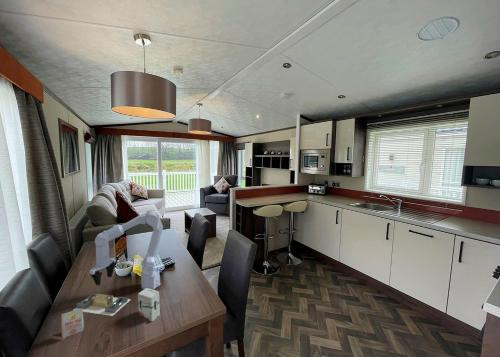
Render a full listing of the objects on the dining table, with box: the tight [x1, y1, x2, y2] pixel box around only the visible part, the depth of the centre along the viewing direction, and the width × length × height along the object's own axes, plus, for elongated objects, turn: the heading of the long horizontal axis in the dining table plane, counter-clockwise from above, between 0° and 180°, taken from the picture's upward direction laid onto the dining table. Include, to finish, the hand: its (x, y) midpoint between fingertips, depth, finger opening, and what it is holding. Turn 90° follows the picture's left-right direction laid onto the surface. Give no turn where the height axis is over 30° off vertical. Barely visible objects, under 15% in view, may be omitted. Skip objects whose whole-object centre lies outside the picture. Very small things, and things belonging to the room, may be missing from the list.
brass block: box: [91, 293, 114, 308], centre depth 107 cm, size 9×4×4 cm, turn 81°
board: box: [72, 296, 132, 317], centre depth 107 cm, size 22×12×1 cm, turn 81°
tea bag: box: [60, 308, 85, 341], centre depth 90 cm, size 4×7×10 cm, turn 124°
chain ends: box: [76, 293, 129, 314], centre depth 107 cm, size 21×9×2 cm, turn 81°
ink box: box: [137, 288, 161, 322], centre depth 100 cm, size 8×5×12 cm, turn 69°
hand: (104, 280), depth 113 cm, fingers open, 7 cm apart
